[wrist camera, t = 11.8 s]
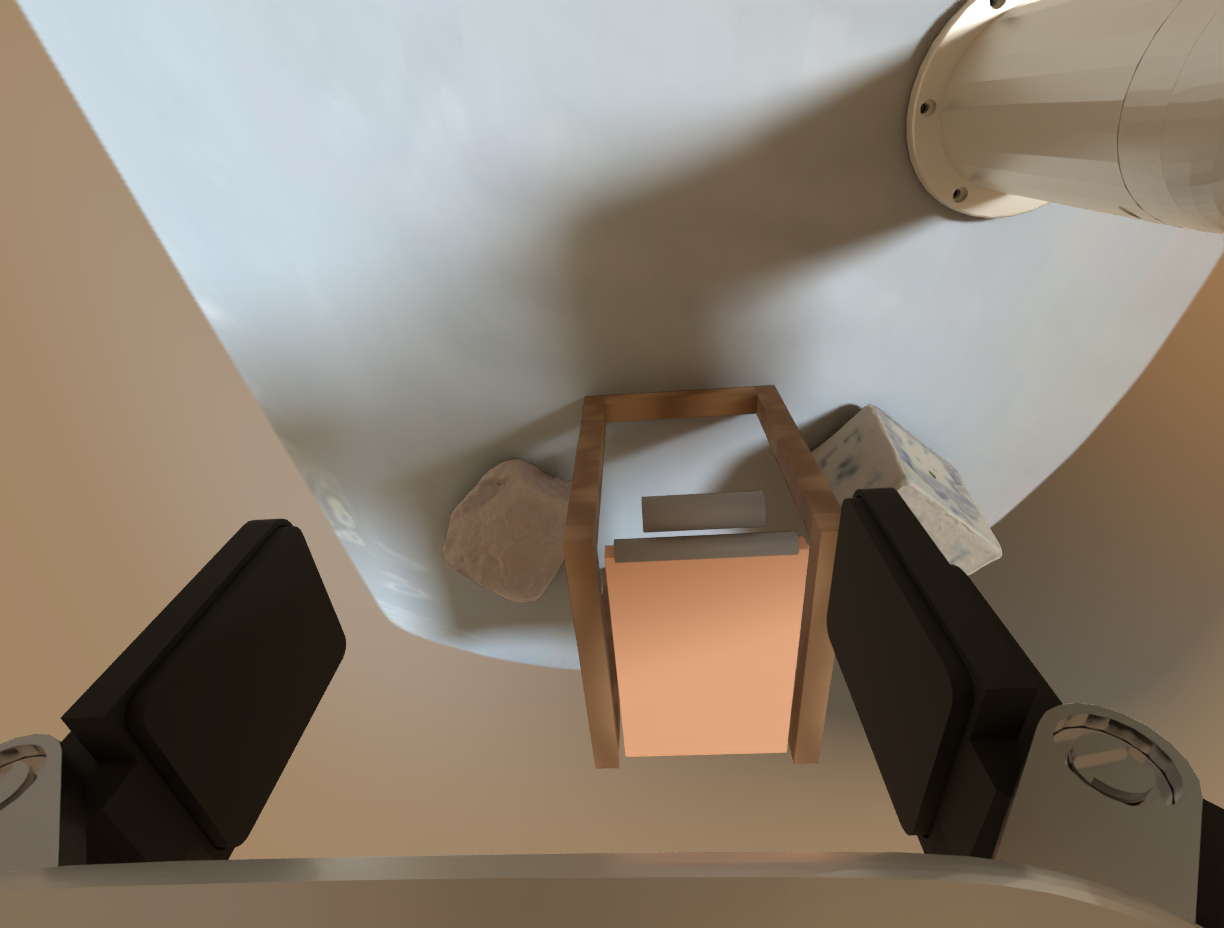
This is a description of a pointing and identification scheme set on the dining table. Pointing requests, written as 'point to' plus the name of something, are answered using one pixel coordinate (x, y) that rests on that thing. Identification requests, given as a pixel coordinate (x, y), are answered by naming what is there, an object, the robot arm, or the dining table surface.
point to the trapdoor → (706, 627)
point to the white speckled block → (908, 484)
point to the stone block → (510, 531)
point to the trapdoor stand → (584, 568)
